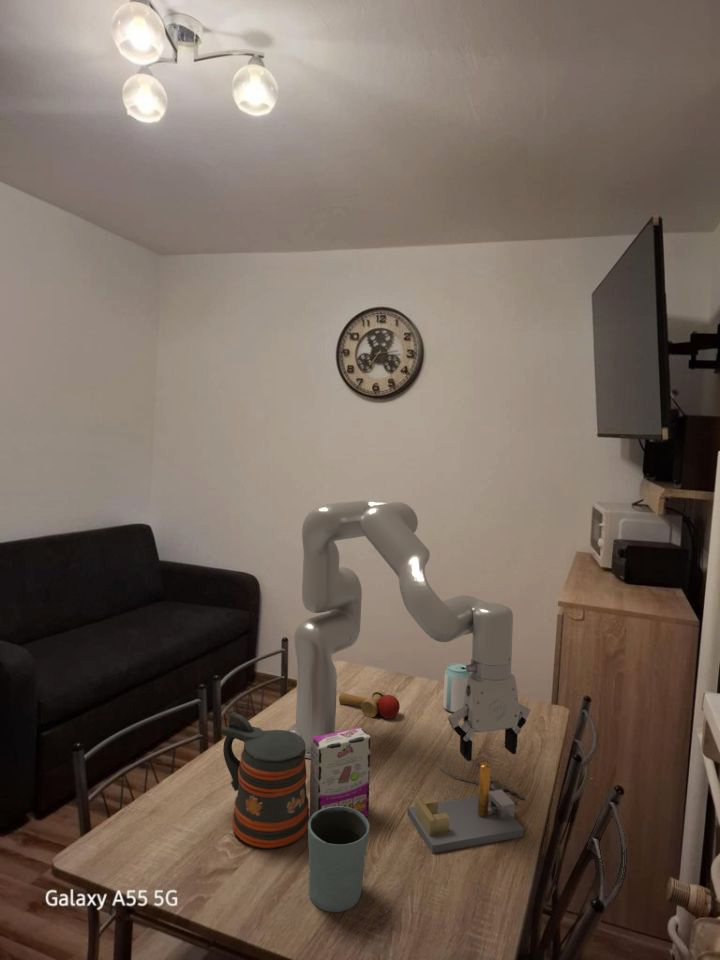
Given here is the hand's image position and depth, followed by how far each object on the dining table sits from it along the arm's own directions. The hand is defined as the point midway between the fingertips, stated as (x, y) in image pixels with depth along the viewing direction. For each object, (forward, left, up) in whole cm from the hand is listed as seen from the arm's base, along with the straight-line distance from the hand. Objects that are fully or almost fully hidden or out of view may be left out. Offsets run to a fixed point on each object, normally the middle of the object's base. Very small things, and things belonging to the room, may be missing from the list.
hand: (488, 754), depth 123 cm
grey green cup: (-33, -11, -14) cm, 38 cm away
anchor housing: (+4, 0, -13) cm, 13 cm away
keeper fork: (-11, 0, -13) cm, 17 cm away
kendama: (-7, +53, -15) cm, 55 cm away
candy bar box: (-27, +9, -14) cm, 32 cm away
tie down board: (-4, 0, -14) cm, 15 cm away
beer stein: (-42, +11, -14) cm, 46 cm away
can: (+18, +48, -14) cm, 54 cm away
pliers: (+8, +14, -15) cm, 22 cm away
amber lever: (+2, 0, -12) cm, 13 cm away
